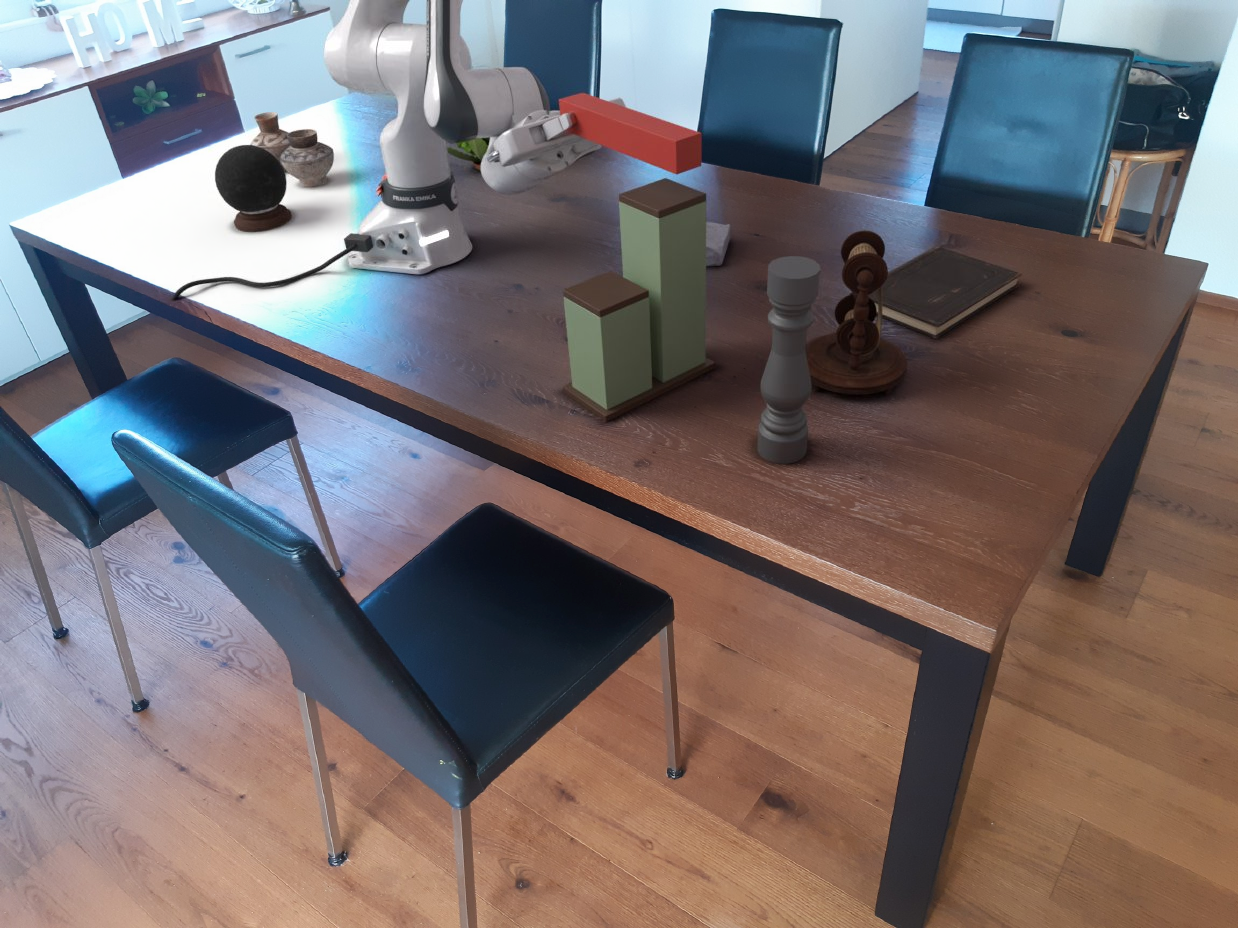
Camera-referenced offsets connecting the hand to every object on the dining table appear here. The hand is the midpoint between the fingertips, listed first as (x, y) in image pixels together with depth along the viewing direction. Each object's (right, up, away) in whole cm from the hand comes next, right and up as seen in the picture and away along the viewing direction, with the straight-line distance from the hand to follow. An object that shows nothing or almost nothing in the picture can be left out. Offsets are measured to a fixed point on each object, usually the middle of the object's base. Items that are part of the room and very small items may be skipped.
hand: (588, 113), depth 121 cm
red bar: (+5, -6, -4) cm, 9 cm away
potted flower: (-24, +20, +83) cm, 88 cm away
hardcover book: (+54, -20, +24) cm, 63 cm away
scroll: (+37, -34, +7) cm, 51 cm away
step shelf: (+7, -35, +9) cm, 36 cm away
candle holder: (+25, -45, -5) cm, 51 cm away
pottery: (-68, +18, +84) cm, 110 cm away
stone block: (+18, -9, +42) cm, 46 cm away
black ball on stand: (-68, +3, +64) cm, 94 cm away
